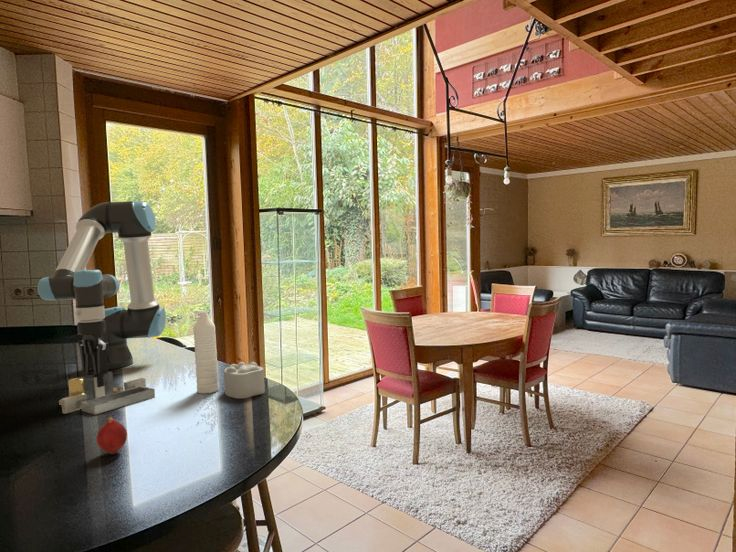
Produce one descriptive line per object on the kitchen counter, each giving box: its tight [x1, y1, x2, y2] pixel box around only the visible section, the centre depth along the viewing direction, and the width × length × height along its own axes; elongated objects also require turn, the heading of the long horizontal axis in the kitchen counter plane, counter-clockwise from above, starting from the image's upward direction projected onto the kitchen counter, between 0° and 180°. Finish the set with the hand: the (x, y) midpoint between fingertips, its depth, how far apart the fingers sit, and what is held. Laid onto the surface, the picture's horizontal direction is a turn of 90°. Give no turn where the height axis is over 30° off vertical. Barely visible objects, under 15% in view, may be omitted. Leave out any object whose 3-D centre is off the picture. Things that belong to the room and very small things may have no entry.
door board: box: [58, 377, 156, 416], centre depth 144 cm, size 24×19×4 cm
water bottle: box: [193, 309, 220, 395], centre depth 151 cm, size 9×6×25 cm
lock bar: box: [68, 370, 115, 400], centre depth 147 cm, size 12×4×7 cm, turn 147°
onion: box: [96, 417, 128, 455], centre depth 105 cm, size 6×6×8 cm
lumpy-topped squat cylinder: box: [223, 361, 266, 400], centre depth 149 cm, size 10×13×9 cm
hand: (96, 396), depth 149 cm, fingers closed on lock bar, 3 cm apart
